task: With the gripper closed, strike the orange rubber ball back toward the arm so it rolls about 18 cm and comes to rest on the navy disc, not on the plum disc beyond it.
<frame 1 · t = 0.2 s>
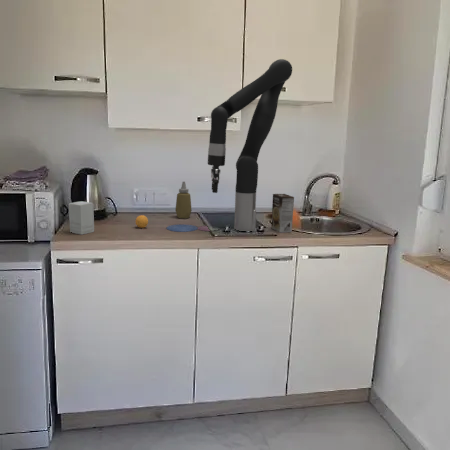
hand: (214, 191, 208), 17 cm above the worktop, tool pointing down, fingers open, 8 cm apart
coffee box: (281, 230, 215), on the worktop
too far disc: (208, 228, 214), on the worktop
supplement box: (82, 232, 201), on the worktop
ball: (141, 221, 212), on the worktop
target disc: (182, 228, 213), on the worktop
squeeze bottle: (183, 217, 237), on the worktop
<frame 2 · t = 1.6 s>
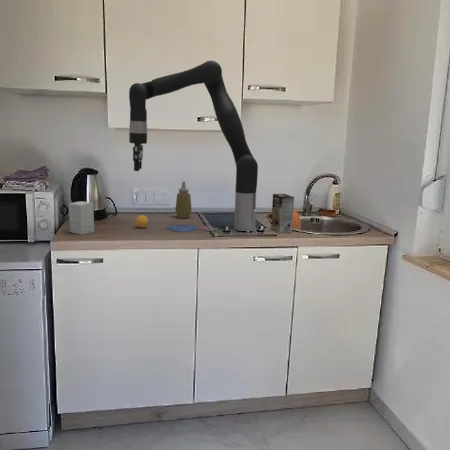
hand: (137, 169, 206), 26 cm above the worktop, tool pointing down, fingers open, 8 cm apart
nothing on the worktop moved.
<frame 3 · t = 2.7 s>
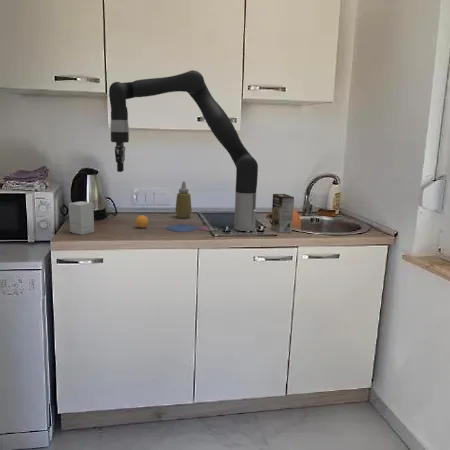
hand: (120, 171, 206), 25 cm above the worktop, tool pointing down, fingers closed
nothing on the worktop moved.
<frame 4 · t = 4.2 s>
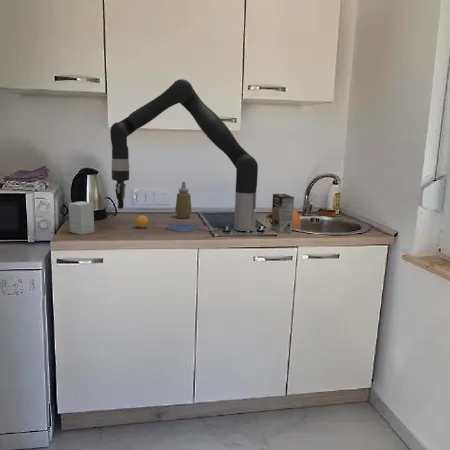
hand: (120, 208, 210), 9 cm above the worktop, tool pointing down, fingers closed
nothing on the worktop moved.
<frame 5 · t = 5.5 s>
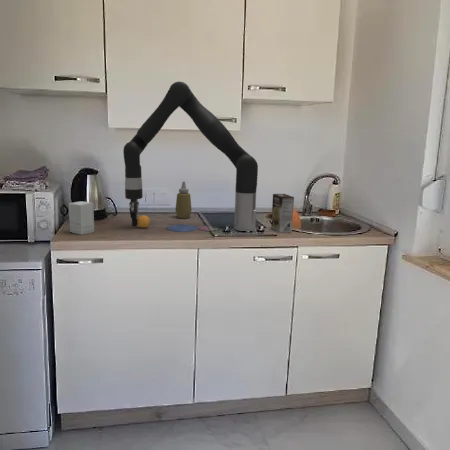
hand: (134, 226, 212), 1 cm above the worktop, tool pointing down, fingers closed
ball: (143, 221, 212), on the worktop, touching gripper
everything else where it was.
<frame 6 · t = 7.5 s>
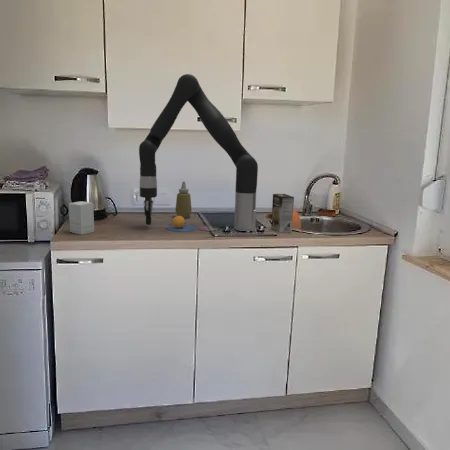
hand: (148, 224, 212), 2 cm above the worktop, tool pointing down, fingers closed
ball: (178, 222, 213), on the worktop
everything else where it was.
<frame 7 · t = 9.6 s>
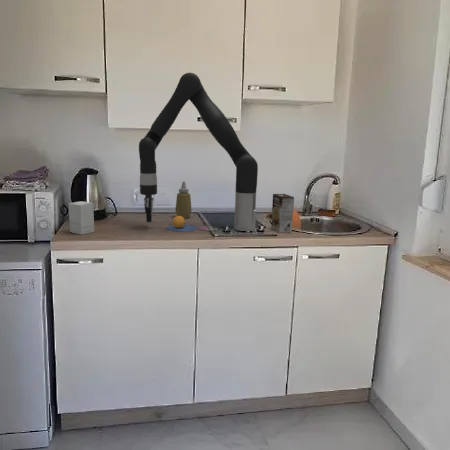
hand: (149, 221, 212), 3 cm above the worktop, tool pointing down, fingers closed
nothing on the worktop moved.
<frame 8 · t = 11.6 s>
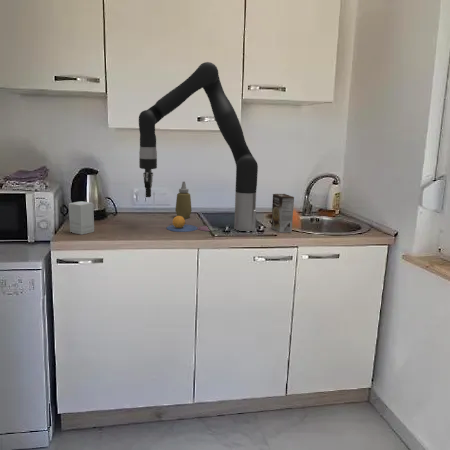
hand: (148, 196, 209), 14 cm above the worktop, tool pointing down, fingers closed
nothing on the worktop moved.
at the end: ball 1.5 cm from the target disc (horizontally); ball at rest at the end (0.0 cm/s); ball moved 16.5 cm from its start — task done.
